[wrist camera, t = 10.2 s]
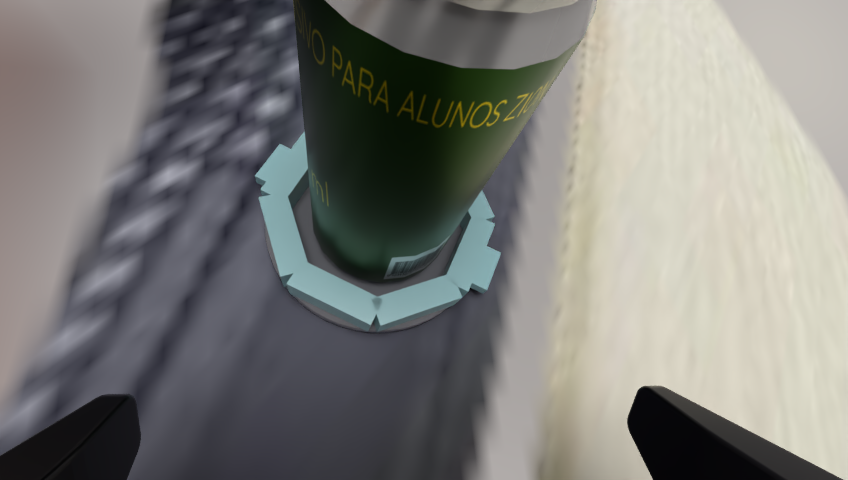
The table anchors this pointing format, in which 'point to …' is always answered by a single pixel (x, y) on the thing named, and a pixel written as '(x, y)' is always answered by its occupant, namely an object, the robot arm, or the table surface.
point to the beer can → (417, 114)
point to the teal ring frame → (354, 297)
